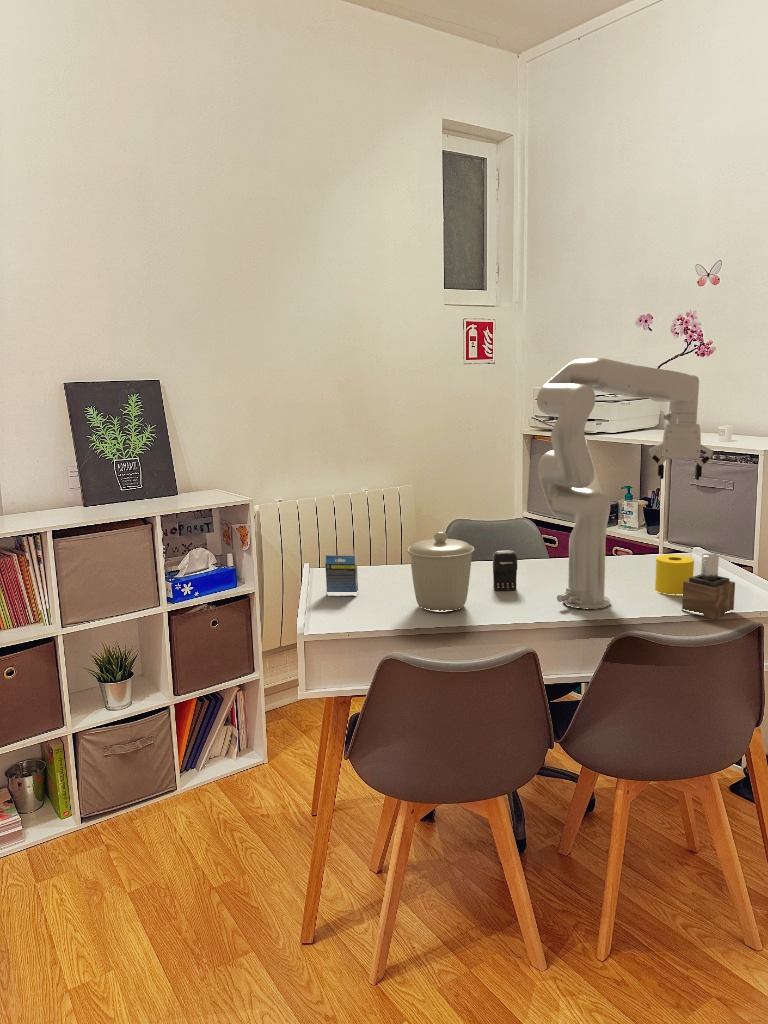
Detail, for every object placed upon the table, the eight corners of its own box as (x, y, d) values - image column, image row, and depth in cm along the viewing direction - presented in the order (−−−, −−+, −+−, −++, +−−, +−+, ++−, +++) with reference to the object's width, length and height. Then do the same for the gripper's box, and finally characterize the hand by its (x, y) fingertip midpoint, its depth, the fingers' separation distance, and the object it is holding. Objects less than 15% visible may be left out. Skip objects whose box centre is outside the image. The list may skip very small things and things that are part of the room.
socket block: (713, 619, 201) (715, 584, 200) (682, 611, 208) (683, 577, 207) (733, 612, 206) (735, 578, 205) (702, 604, 214) (703, 571, 212)
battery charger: (494, 591, 231) (494, 553, 229) (492, 588, 234) (492, 550, 232) (518, 591, 231) (518, 552, 228) (516, 587, 234) (516, 549, 232)
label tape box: (358, 593, 233) (357, 552, 231) (356, 597, 229) (355, 555, 227) (329, 593, 234) (327, 552, 232) (326, 596, 230) (324, 555, 228)
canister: (483, 601, 221) (483, 527, 218) (460, 620, 205) (460, 541, 202) (424, 595, 229) (422, 523, 226) (397, 613, 213) (395, 536, 210)
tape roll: (696, 596, 221) (697, 563, 219) (658, 595, 223) (659, 562, 221) (688, 586, 231) (689, 554, 229) (652, 586, 232) (653, 554, 231)
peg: (711, 588, 203) (712, 558, 202) (697, 585, 207) (698, 555, 205) (720, 585, 206) (721, 555, 204) (706, 582, 209) (707, 552, 208)
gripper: (651, 419, 225) (648, 479, 228) (717, 420, 221) (713, 481, 224) (649, 418, 232) (646, 476, 235) (713, 418, 228) (709, 478, 231)
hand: (679, 478), depth 230 cm, fingers open, 9 cm apart
